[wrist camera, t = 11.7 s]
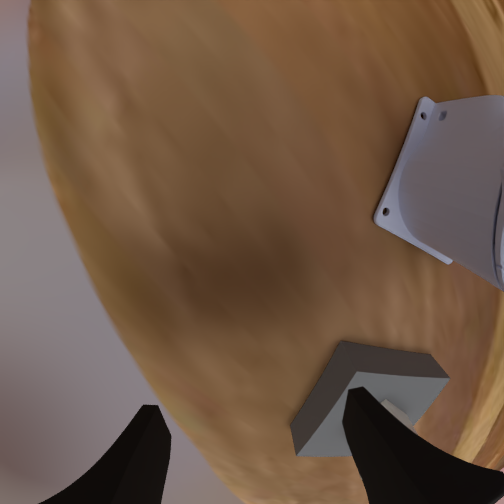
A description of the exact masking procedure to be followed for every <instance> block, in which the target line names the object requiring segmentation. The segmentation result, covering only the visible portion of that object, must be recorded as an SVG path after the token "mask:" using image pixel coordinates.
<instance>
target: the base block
mask: <svg viewBox="0 0 504 504" xmlns="http://www.w3.org/2000/svg"><path fill="white" fill-rule="evenodd" d="M449 379H450V377H449V376H448V375H447V374H446V372H445V371H444V370H443V369H442V368H441V366H440V365H439V364H438V363H437V362H436V360H435V359H434V358H433V357H432V356H431V355H430V354H422V353H415V352H408V351H401V350H394V349H387V348H381V347H375V346H369V345H363V344H357V343H351V342H346V341H340V343H339V345H338V347H337V349H336V350H335V352H334V354H333V356H332V358H331V359H330V361H329V363H328V365H327V367H326V368H325V370H324V372H323V374H322V375H321V377H320V379H319V380H318V382H317V384H316V385H315V387H314V389H313V390H312V392H311V394H310V395H309V397H308V399H307V400H306V402H305V403H304V405H303V407H302V408H301V410H300V411H299V413H298V414H297V416H296V417H295V419H294V420H293V422H292V423H291V425H290V427H291V432H292V437H293V442H294V448H295V453H296V456H312V457H335V456H352V453H351V451H350V448H349V446H348V443H347V440H346V436H345V432H344V428H343V424H342V419H343V414H344V409H345V404H346V399H347V393H348V389H353V388H357V387H362V386H363V387H365V388H366V389H367V390H368V391H369V392H370V393H371V394H372V395H373V396H374V397H375V398H376V399H377V400H378V401H379V402H380V403H381V402H383V401H384V400H385V399H387V400H388V401H389V402H391V403H392V404H393V405H395V406H396V407H397V408H399V409H400V410H401V411H403V412H404V413H405V414H407V416H408V418H409V420H410V422H411V423H412V425H413V426H414V425H415V423H416V422H417V421H418V420H419V419H420V418H421V416H422V415H423V414H424V413H425V411H426V410H427V409H428V408H429V406H430V405H431V404H432V403H433V401H434V400H435V399H436V397H437V396H438V395H439V393H440V392H441V391H442V389H443V388H444V387H445V385H446V384H447V382H448V381H449Z"/></svg>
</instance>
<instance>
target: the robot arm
mask: <svg viewBox="0 0 504 504" xmlns="http://www.w3.org/2000/svg"><path fill="white" fill-rule="evenodd" d="M421 113H422V114H423V119H422V118H421ZM384 208H386V209H387V212H386V214H384V215H383V213H382V212H383V209H384ZM374 222H375V224H376V225H378V226H380V227H382V228H383V229H385V230H387V231H389V232H391V233H393V234H395V235H397V236H398V237H400V238H402V239H404V240H406V241H408V242H409V243H411V244H413V245H415V246H417V247H418V248H420V249H422V250H424V251H425V252H427V253H429V254H430V255H432V256H434V257H436V258H437V259H439V260H441V261H442V262H444V263H446V264H451V263H452V261H455V262H457V263H458V264H460V265H462V266H464V267H465V268H467V269H469V270H470V271H472V272H473V273H475V274H477V275H478V276H480V277H482V278H483V279H485V280H486V281H488V282H489V283H491V284H493V285H494V286H496V287H497V288H499V289H500V290H502V291H503V292H504V96H500V95H486V96H478V97H471V98H464V99H458V100H451V101H445V102H440V103H435V102H433V101H432V100H431V99H430V98H428V97H422V98H420V100H419V103H418V106H417V109H416V112H415V115H414V117H413V120H412V123H411V126H410V129H409V132H408V134H407V137H406V140H405V142H404V145H403V148H402V150H401V153H400V155H399V158H398V160H397V163H396V165H395V168H394V170H393V173H392V175H391V178H390V180H389V182H388V185H387V187H386V189H385V192H384V194H383V196H382V199H381V201H380V203H379V205H378V208H377V210H376V212H375V214H374ZM342 424H343V428H344V432H345V436H346V440H347V443H348V446H349V448H350V451H351V453H352V456H353V459H354V461H355V463H356V466H357V468H358V471H359V473H360V476H361V478H362V481H363V483H364V486H365V489H366V492H367V496H368V500H369V504H495V503H496V502H497V501H498V500H499V499H501V498H502V497H503V496H504V473H503V472H501V471H497V470H492V469H488V468H484V467H480V466H477V465H474V464H471V463H468V462H466V461H463V460H461V459H459V458H457V457H454V456H452V455H450V454H448V453H446V452H444V451H442V450H440V449H438V448H437V447H435V446H433V445H432V444H430V443H429V442H427V441H426V440H424V439H423V438H421V437H420V436H418V435H417V434H416V433H414V432H413V431H412V430H410V429H409V428H408V427H407V426H405V425H404V424H403V423H402V422H401V421H399V420H398V419H397V418H396V417H395V416H394V415H393V414H391V413H390V412H389V411H388V410H387V409H386V408H385V407H384V406H383V405H382V404H381V403H380V402H379V401H378V400H377V399H376V398H375V397H374V396H373V395H372V394H371V393H370V392H369V391H368V390H367V389H366V388H365V387H363V386H362V387H357V388H353V389H348V393H347V399H346V404H345V409H344V414H343V419H342ZM170 450H171V434H170V432H169V429H168V427H167V425H166V423H165V420H164V418H163V416H162V413H161V411H160V409H159V406H158V405H143V406H142V407H141V408H140V409H139V411H138V412H137V414H136V415H135V416H134V418H133V419H132V420H131V422H130V423H129V425H128V426H127V427H126V428H125V430H124V431H123V432H122V434H121V435H120V436H119V437H118V439H117V440H116V441H115V442H114V444H113V445H112V446H111V447H110V448H109V449H108V451H107V452H106V453H105V454H104V455H103V456H102V457H101V459H100V460H98V461H97V462H96V464H95V465H94V466H92V467H91V468H90V469H89V470H88V471H87V472H86V473H85V474H84V475H82V476H81V477H80V478H79V479H77V480H76V481H75V482H74V483H72V484H71V485H70V486H68V487H67V488H65V489H64V490H63V491H61V492H59V493H57V494H56V495H54V496H52V497H51V498H49V499H47V500H45V501H43V502H41V503H39V504H161V500H162V495H163V490H164V484H165V480H166V475H167V470H168V465H169V460H170Z"/></svg>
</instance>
